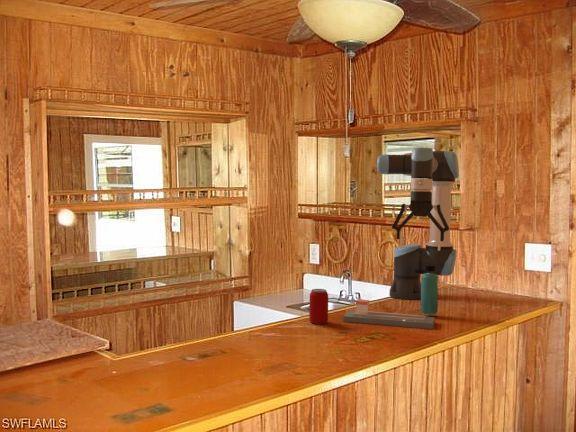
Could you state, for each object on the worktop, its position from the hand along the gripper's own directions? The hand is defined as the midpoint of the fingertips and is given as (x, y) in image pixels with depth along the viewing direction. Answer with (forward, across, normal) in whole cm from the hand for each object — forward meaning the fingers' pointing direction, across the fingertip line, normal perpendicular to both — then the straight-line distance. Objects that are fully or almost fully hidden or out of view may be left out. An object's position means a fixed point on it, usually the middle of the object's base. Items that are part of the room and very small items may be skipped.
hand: (419, 249), depth 222 cm
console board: (+27, -10, -2) cm, 29 cm away
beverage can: (+27, -34, -12) cm, 46 cm away
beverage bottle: (+27, +3, +12) cm, 30 cm away
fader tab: (+25, -20, -2) cm, 32 cm away
